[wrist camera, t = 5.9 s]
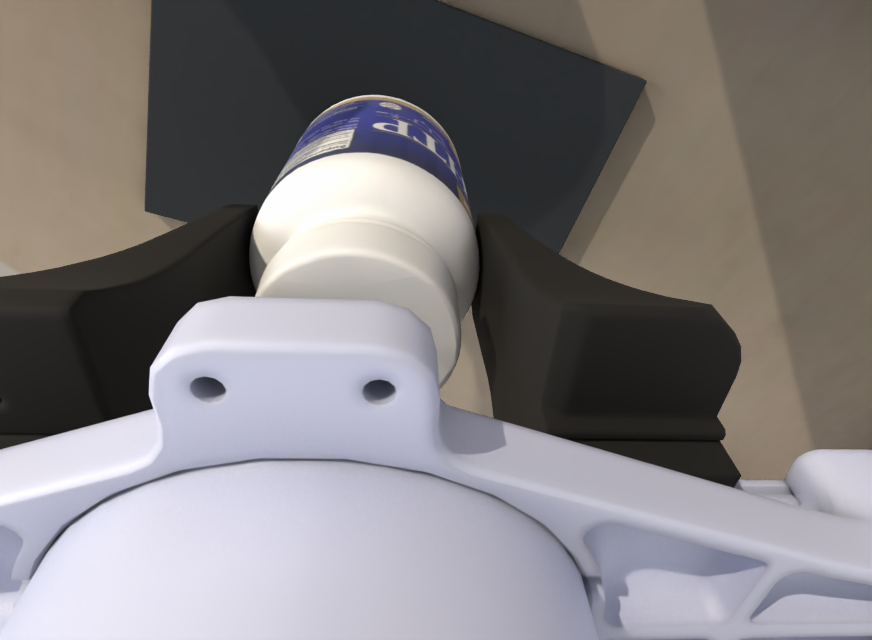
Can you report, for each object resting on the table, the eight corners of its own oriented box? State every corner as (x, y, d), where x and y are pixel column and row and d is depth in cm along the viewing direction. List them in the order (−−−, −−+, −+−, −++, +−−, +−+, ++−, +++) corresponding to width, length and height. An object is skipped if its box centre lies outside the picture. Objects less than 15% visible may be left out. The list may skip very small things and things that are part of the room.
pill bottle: (493, 187, 18) (553, 359, 10) (375, 278, 20) (356, 479, 12) (382, 48, 15) (359, 148, 8) (258, 167, 17) (147, 337, 10)
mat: (643, 79, 19) (647, 81, 19) (527, 307, 24) (529, 312, 24) (159, -105, 16) (154, -106, 15) (148, 207, 21) (144, 211, 21)
